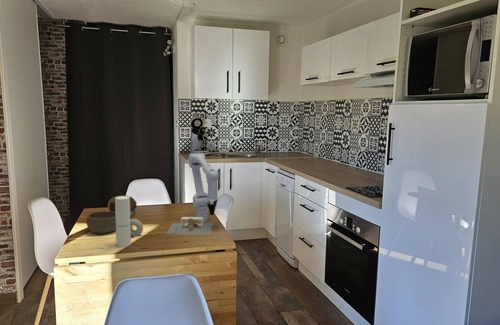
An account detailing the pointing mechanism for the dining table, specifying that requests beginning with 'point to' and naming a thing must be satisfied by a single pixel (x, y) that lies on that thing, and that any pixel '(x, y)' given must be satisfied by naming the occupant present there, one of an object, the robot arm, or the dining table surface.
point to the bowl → (101, 222)
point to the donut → (137, 224)
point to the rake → (191, 224)
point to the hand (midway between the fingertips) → (212, 213)
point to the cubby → (197, 230)
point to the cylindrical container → (122, 221)
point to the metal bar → (174, 230)
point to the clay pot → (112, 205)
